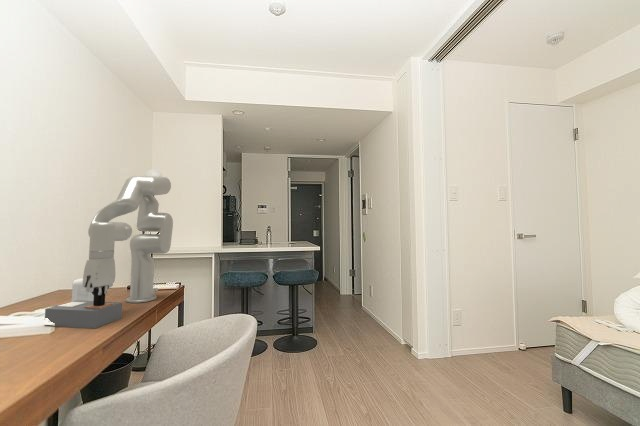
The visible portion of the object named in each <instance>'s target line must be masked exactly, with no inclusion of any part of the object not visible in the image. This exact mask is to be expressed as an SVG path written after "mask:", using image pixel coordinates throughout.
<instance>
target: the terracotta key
mask: <svg viewBox="0 0 640 426" xmlns="http://www.w3.org/2000/svg"><path fill="white" fill-rule="evenodd" d="M110 305H113V303H105V305H102V306H94V305H90V306H86V307H85V308H93V309H101V308H104V307H107V306H110Z"/></svg>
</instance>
